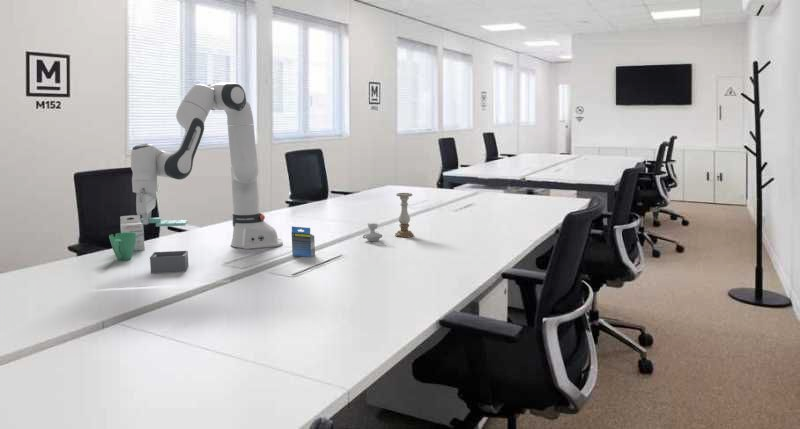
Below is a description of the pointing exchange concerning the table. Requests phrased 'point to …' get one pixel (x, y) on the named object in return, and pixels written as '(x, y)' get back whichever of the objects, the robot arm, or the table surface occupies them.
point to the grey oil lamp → (372, 233)
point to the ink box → (133, 230)
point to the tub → (169, 262)
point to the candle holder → (404, 216)
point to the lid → (166, 222)
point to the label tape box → (302, 242)
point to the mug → (123, 245)
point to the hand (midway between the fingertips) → (147, 223)
